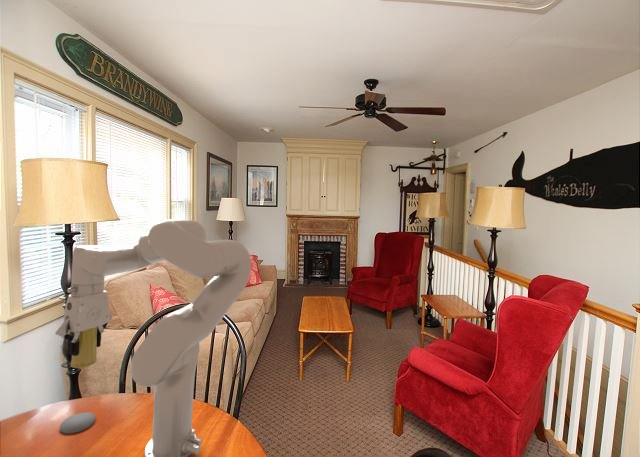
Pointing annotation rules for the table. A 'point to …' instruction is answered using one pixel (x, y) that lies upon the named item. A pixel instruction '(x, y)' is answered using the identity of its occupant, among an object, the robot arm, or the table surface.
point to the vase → (86, 349)
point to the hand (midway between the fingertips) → (84, 349)
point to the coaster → (77, 423)
